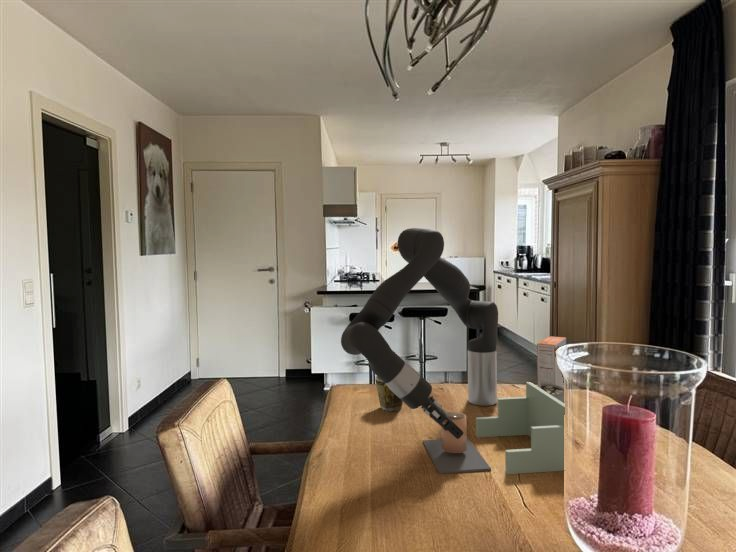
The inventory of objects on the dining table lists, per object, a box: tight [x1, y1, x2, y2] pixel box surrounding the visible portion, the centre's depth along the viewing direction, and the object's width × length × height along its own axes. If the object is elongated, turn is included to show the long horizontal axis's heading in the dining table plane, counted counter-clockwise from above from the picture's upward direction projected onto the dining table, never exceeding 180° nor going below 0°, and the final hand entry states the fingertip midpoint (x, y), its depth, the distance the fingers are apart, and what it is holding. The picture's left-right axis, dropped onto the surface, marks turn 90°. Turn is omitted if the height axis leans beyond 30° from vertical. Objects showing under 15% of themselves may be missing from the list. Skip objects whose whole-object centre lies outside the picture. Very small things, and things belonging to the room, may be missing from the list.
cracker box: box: [536, 335, 567, 388], centre depth 153 cm, size 14×6×21 cm, turn 144°
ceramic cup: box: [374, 375, 404, 412], centre depth 152 cm, size 13×10×10 cm
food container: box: [541, 383, 565, 404], centre depth 136 cm, size 12×6×10 cm, turn 168°
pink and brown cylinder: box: [441, 411, 468, 453], centre depth 117 cm, size 6×6×8 cm
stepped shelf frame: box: [475, 381, 566, 475], centre depth 118 cm, size 22×15×14 cm
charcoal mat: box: [422, 437, 492, 475], centre depth 117 cm, size 18×12×1 cm, turn 5°
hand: (456, 430), depth 117 cm, fingers closed on pink and brown cylinder, 6 cm apart
